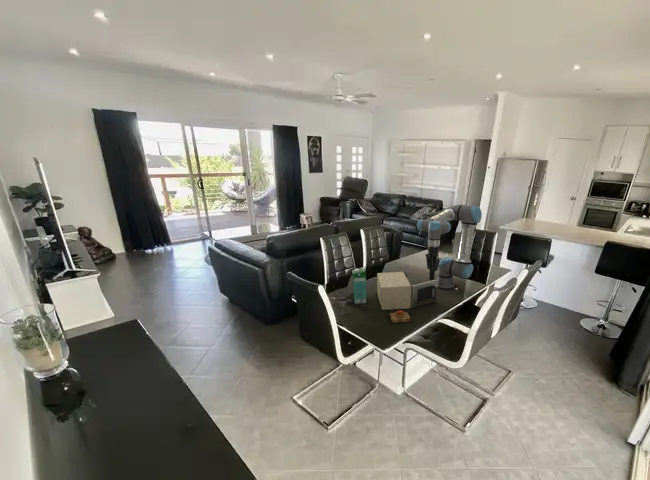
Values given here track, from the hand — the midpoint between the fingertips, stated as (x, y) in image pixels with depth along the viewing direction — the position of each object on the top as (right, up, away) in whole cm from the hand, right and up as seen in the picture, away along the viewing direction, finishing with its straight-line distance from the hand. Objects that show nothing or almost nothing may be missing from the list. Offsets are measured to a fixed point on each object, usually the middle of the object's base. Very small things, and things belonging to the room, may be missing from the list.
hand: (431, 280), depth 214 cm
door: (-2, -18, +13) cm, 22 cm away
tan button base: (-22, -25, -5) cm, 34 cm away
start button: (-22, -22, -6) cm, 31 cm away
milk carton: (-49, -15, +22) cm, 56 cm away
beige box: (-23, -15, +21) cm, 35 cm away
